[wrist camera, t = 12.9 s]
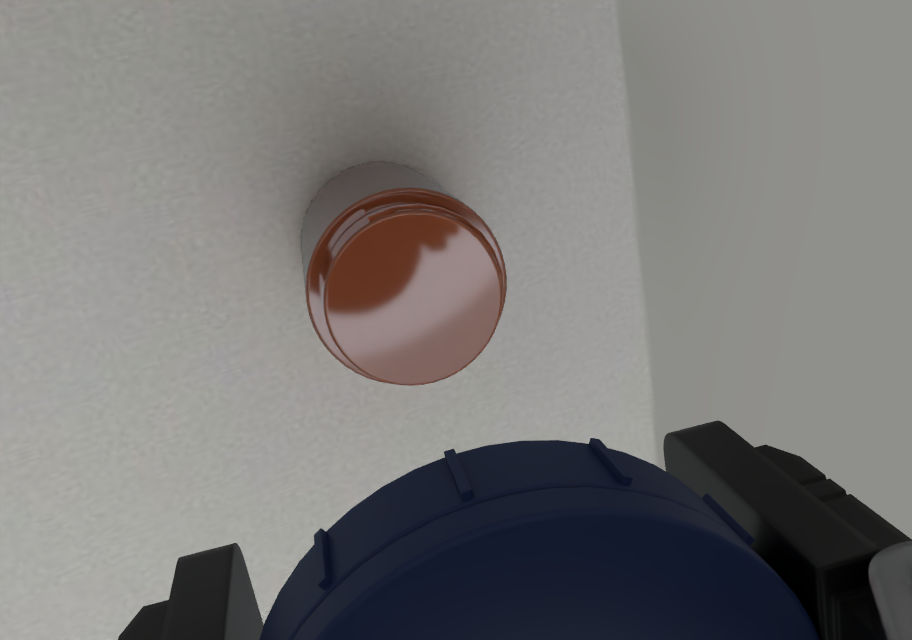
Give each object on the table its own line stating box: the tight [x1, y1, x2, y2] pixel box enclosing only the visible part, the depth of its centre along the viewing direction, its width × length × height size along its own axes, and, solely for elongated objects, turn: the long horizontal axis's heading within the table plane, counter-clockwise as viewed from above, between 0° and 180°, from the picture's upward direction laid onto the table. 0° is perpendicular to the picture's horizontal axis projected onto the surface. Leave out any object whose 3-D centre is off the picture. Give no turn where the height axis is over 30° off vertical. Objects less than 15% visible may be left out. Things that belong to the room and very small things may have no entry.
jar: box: [301, 161, 507, 385], centre depth 26 cm, size 5×5×8 cm
